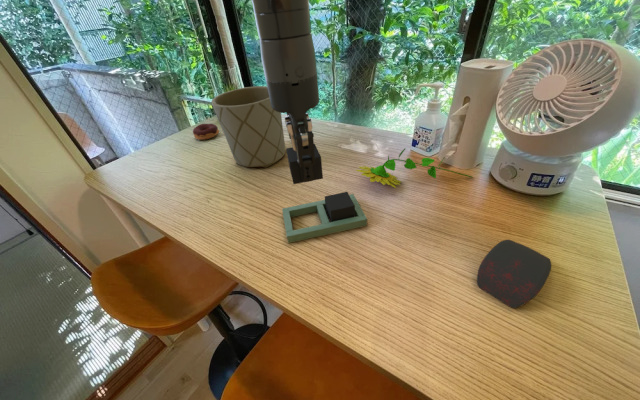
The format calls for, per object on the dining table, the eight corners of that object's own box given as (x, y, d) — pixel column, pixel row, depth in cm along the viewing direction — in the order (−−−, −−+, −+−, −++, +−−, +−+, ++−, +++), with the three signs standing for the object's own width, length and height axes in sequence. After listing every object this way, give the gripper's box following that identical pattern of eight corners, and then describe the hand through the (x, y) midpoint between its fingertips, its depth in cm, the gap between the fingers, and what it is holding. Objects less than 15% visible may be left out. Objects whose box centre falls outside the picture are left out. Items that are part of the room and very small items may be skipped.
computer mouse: (468, 281, 43) (475, 266, 40) (503, 239, 49) (510, 224, 47) (523, 315, 38) (534, 301, 35) (554, 264, 44) (565, 248, 42)
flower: (451, 186, 74) (352, 164, 71) (465, 159, 70) (361, 134, 67) (473, 206, 63) (357, 180, 60) (491, 174, 59) (368, 145, 57)
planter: (298, 146, 89) (289, 86, 77) (271, 175, 75) (254, 107, 63) (253, 141, 95) (237, 85, 83) (220, 167, 82) (196, 105, 69)
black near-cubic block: (354, 221, 57) (354, 205, 54) (331, 226, 56) (330, 210, 53) (347, 206, 61) (347, 191, 58) (325, 211, 60) (324, 196, 58)
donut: (214, 140, 99) (210, 131, 97) (190, 141, 101) (186, 132, 98) (223, 130, 107) (220, 121, 105) (201, 131, 108) (198, 122, 106)
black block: (323, 178, 46) (320, 156, 43) (293, 184, 45) (289, 162, 42) (316, 164, 50) (314, 143, 47) (289, 169, 49) (285, 148, 46)
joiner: (367, 225, 55) (367, 218, 54) (288, 243, 53) (286, 236, 52) (353, 200, 63) (353, 193, 62) (283, 214, 61) (282, 208, 60)
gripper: (263, 67, 42) (281, 157, 52) (267, 89, 31) (290, 198, 41) (307, 61, 43) (317, 151, 53) (327, 80, 31) (334, 189, 42)
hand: (305, 171), depth 47 cm, fingers closed on black block, 5 cm apart
